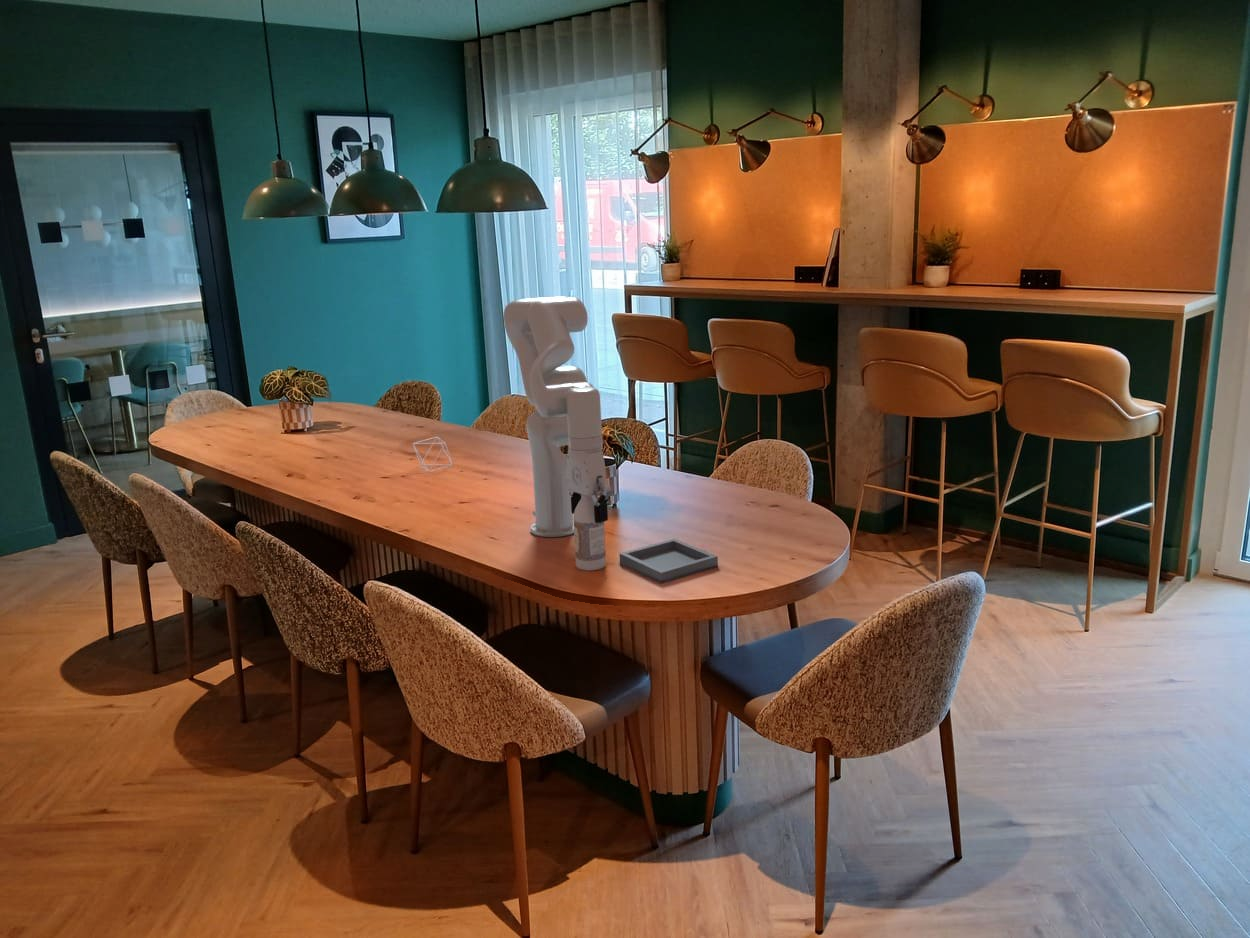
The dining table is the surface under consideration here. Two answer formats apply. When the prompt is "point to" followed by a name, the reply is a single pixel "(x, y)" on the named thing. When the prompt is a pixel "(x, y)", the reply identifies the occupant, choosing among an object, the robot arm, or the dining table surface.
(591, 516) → the bath foam
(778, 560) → the dining table surface
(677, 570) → the blue-gray tray
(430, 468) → the geometric polyhedron
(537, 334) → the robot arm
